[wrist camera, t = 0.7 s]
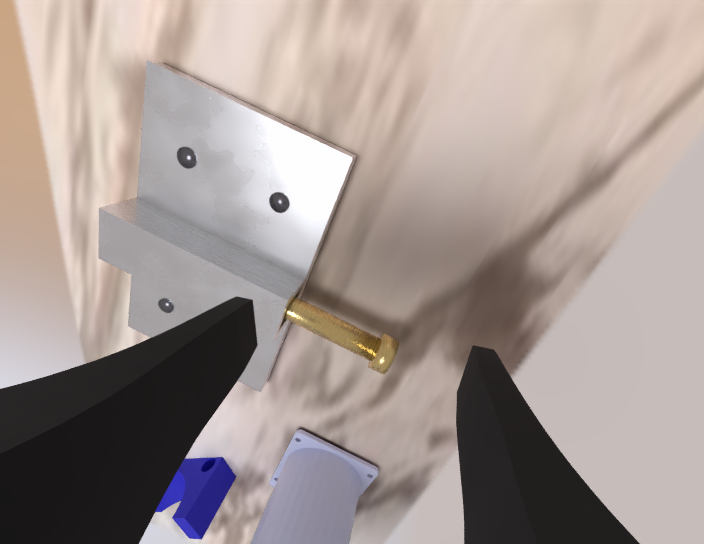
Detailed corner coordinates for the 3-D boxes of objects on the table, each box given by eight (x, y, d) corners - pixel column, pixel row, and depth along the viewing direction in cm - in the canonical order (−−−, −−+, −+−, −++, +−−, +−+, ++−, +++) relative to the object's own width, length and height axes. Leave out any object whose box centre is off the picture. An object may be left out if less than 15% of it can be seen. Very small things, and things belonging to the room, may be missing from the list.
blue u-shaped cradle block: (163, 484, 39) (121, 542, 34) (143, 459, 38) (95, 514, 33) (243, 484, 35) (209, 549, 30) (223, 455, 34) (184, 518, 29)
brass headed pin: (400, 333, 21) (396, 356, 19) (385, 357, 22) (380, 381, 20) (220, 245, 21) (197, 258, 19) (213, 273, 22) (191, 289, 20)
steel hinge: (357, 155, 18) (338, 165, 15) (267, 381, 27) (243, 419, 24) (163, 63, 18) (100, 50, 15) (139, 318, 28) (97, 346, 24)
